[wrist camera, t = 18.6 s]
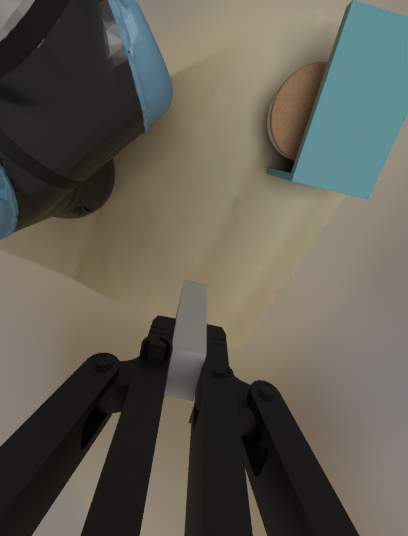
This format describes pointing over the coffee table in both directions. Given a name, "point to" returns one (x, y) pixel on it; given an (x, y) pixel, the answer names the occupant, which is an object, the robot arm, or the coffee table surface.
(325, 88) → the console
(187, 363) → the robot arm
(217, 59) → the coffee table surface
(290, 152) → the lidded jar
